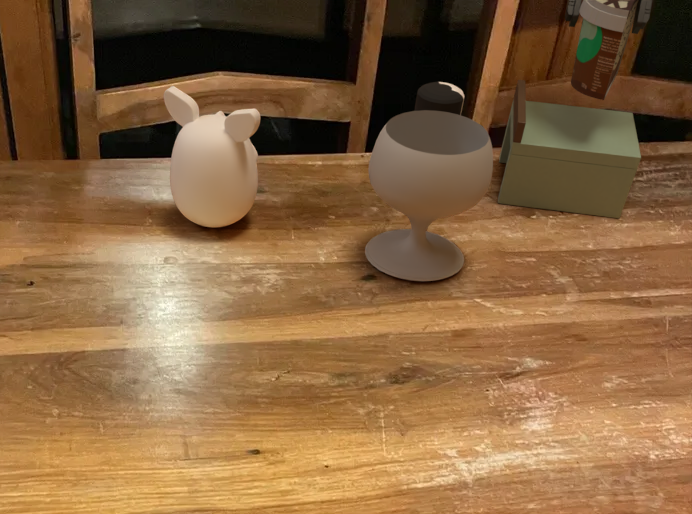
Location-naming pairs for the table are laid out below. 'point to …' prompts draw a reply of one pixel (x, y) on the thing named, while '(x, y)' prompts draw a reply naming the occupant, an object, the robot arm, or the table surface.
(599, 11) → the food container
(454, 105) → the medicine bottle
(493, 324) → the table surface
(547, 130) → the sage green lidded box
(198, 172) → the piggy bank
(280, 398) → the table surface
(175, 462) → the table surface
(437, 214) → the chalice
